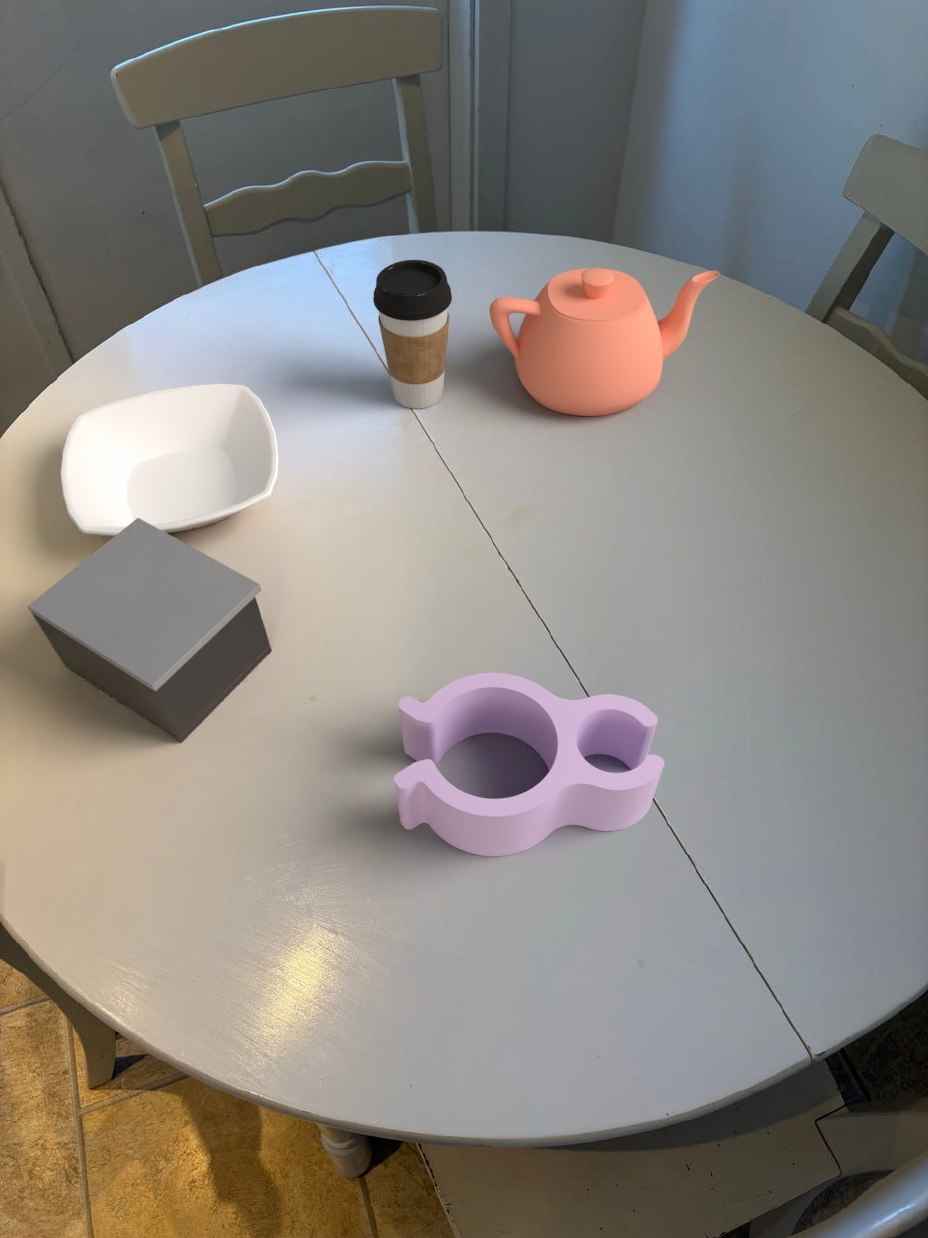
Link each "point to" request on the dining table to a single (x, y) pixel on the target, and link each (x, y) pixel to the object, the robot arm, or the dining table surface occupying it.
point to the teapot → (593, 339)
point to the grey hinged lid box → (176, 673)
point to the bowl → (169, 459)
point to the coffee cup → (414, 329)
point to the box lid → (145, 602)
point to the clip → (554, 734)
